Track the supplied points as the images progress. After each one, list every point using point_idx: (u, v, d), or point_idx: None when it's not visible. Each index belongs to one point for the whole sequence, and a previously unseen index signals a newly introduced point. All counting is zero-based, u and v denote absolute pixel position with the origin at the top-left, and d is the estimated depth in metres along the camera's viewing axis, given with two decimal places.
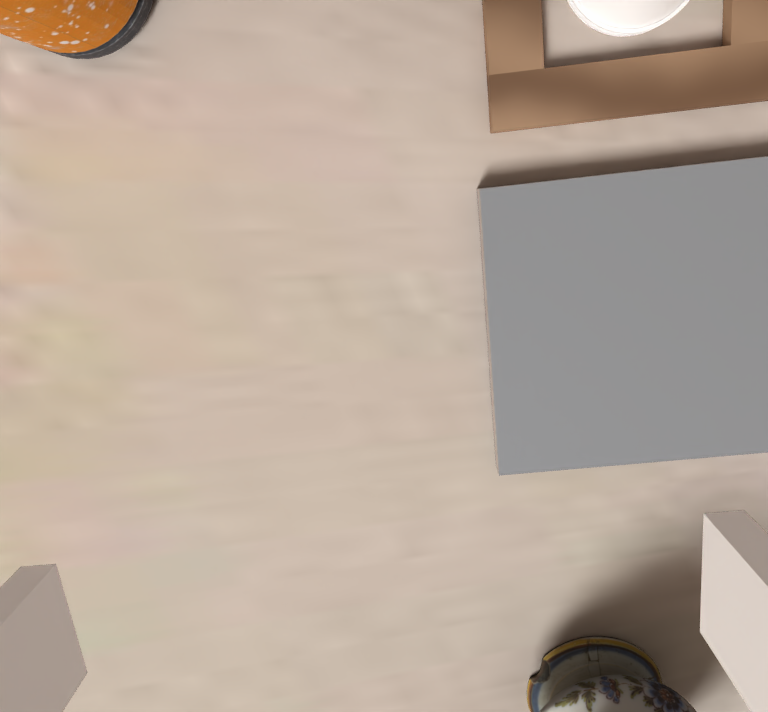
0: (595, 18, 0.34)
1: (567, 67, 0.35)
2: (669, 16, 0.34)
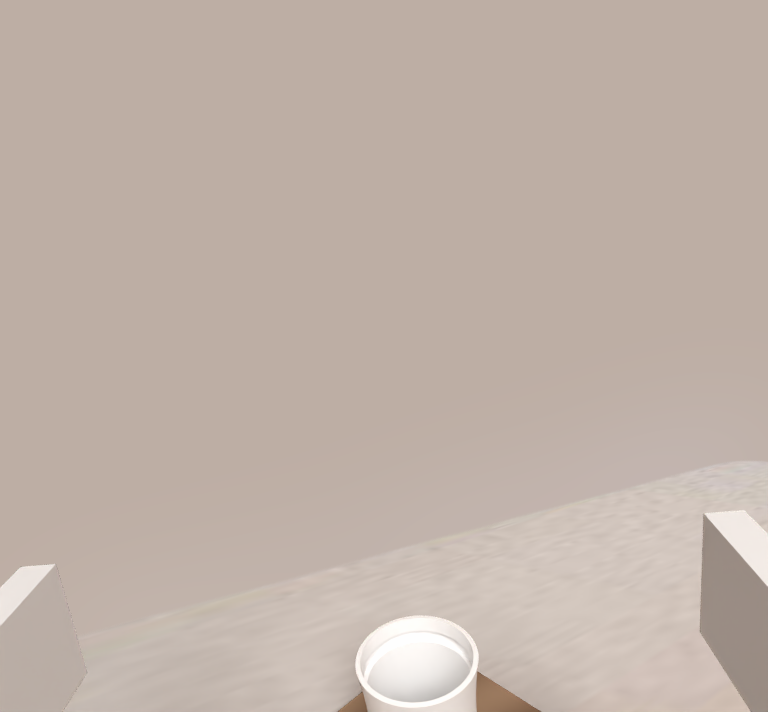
0: None
1: None
2: None
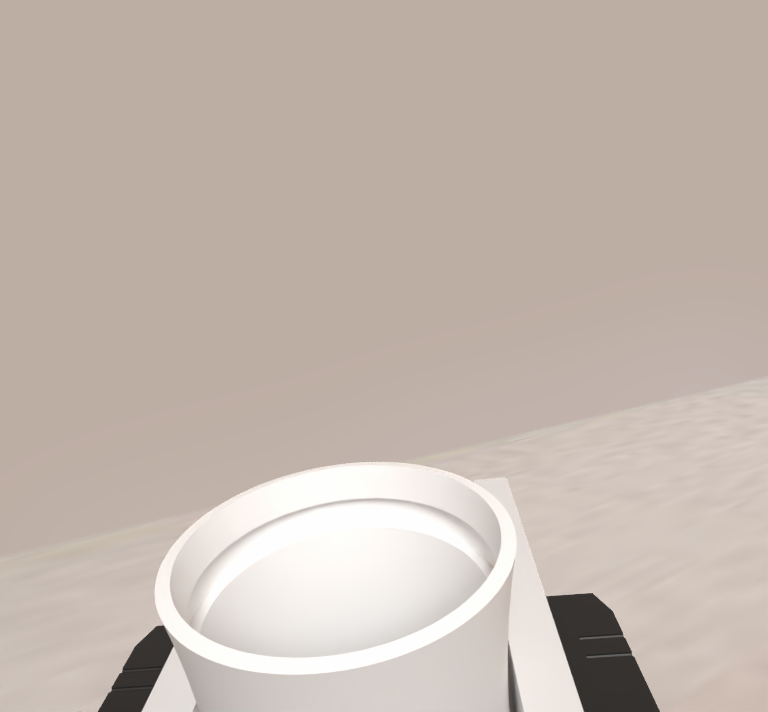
0: None
1: None
2: None
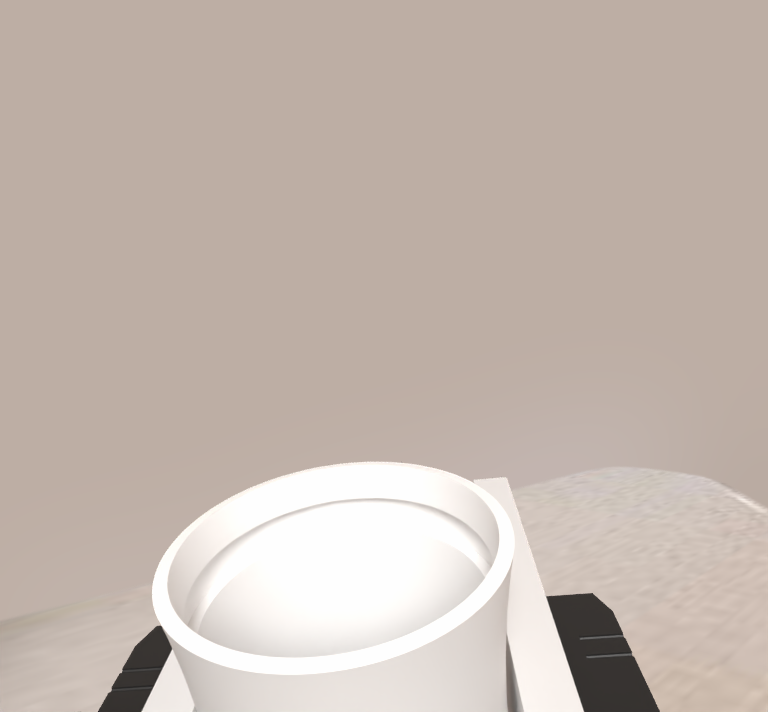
0: None
1: None
2: None
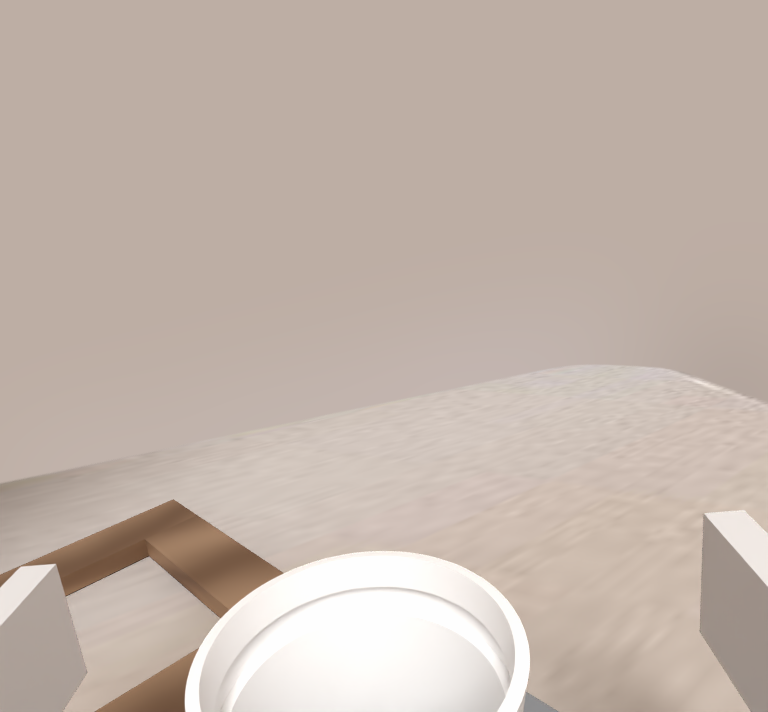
0: None
1: None
2: None
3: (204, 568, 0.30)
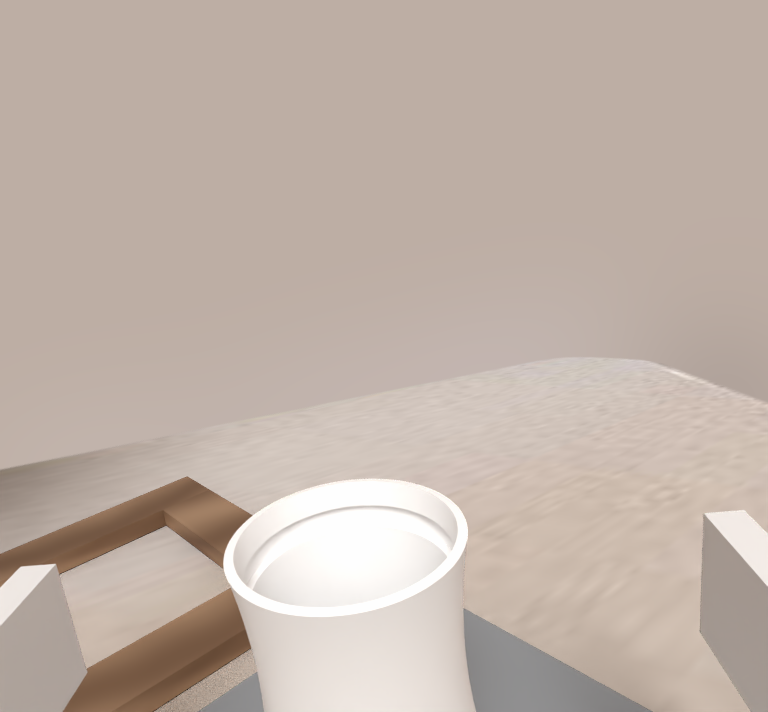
0: None
1: None
2: None
3: (217, 533, 0.34)
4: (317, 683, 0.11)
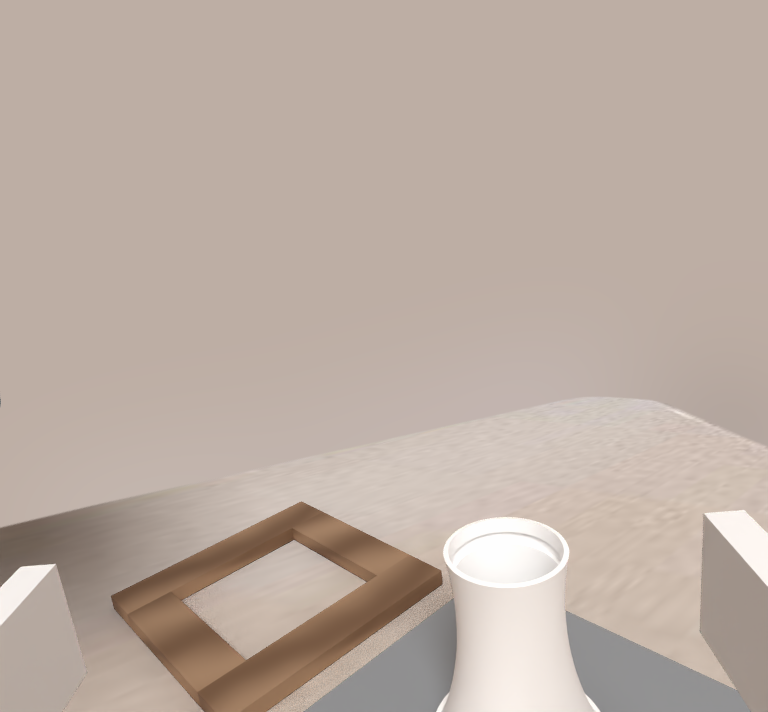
0: None
1: (266, 648, 0.36)
2: None
3: (341, 545, 0.46)
4: (502, 620, 0.23)
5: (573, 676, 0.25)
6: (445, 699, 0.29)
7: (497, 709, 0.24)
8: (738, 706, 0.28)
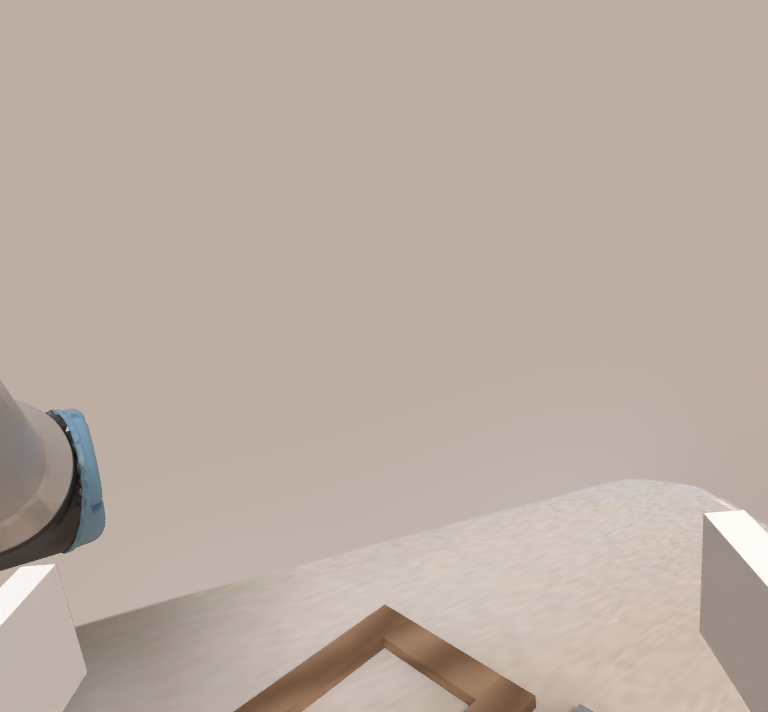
0: None
1: None
2: None
3: (434, 661, 0.50)
4: None
5: None
6: None
7: None
8: None
